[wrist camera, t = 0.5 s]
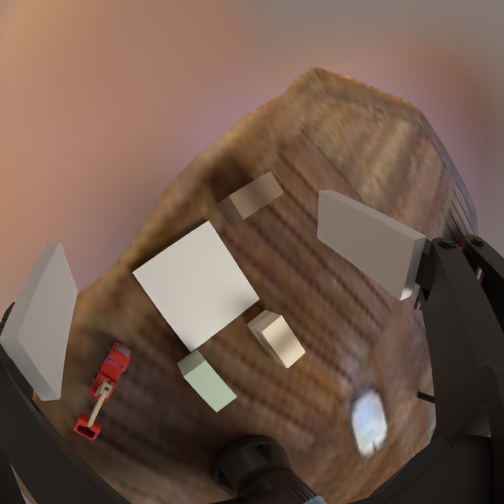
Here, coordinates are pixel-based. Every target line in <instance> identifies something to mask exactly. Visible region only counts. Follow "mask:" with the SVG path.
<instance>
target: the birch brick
mask: <svg viewBox="0 0 504 504" xmlns="http://www.w3.org/2000/svg"><path fill="white" fill-rule="evenodd" d="M247 326H248V327H249V329H250V330H251V332H252V333H253V334H254V336H255V337H256V339H257V340H258V341H259V343H260V344H261V345H262V347H263V348H264V350H265V351H266V352H267V354H268V355H269V356H270V358H271V359H273V360H274V361H276V362H278V363H279V364H281V365H283V366H284V367H286V368H289V367H290V366H291V365H292V364H293V363H294V362H295V361H296V360H297V359H299V358H300V357H301V356H302V355H303V354H304V353H305V351H304V349H303V348H302V346H301V345H300V343H299V342H298V340H297V339H296V337H295V335H294V334H293V332H292V331H291V329H290V328H289V326H288V325H287V323H286V322H285V320H284V319H283V317H282V315H279V314H276V313H273V312H269V311H266V310H264V311H263V312H262V313H260V314H259V315H258V316H257V317H255V318H254V319H253V320H252V321H250V322H249V323H248V324H247Z"/></svg>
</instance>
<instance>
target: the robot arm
mask: <svg viewBox="0 0 504 504" xmlns="http://www.w3.org/2000/svg"><path fill="white" fill-rule="evenodd" d="M317 238H318V239H319V240H321V241H322V242H323V243H325V244H326V245H328V246H329V247H330V248H332V249H333V250H334V251H336V252H337V253H338V254H340V255H341V256H343V257H344V258H345V259H347V260H348V261H349V262H351V263H352V264H353V265H355V266H356V267H357V268H359V269H360V270H361V271H363V272H364V273H365V274H367V275H368V276H369V277H370V278H372V279H373V280H374V281H376V282H377V283H378V284H380V285H381V286H382V287H383V288H385V289H386V290H387V291H389V292H390V293H391V294H392V295H394V296H395V297H396V298H397V299H399V300H402V299H405V298H407V297H409V296H411V295H412V292H413V288H414V285H415V283H417V284H418V285H419V286H420V289H419V292H418V296H417V299H416V302H415V305H414V309H416V308H417V306H418V305H419V304H421V306H420V309H419V310H422V314H423V319H424V324H425V329H426V335H427V340H428V347H429V353H430V360H431V367H432V376H433V385H434V395H435V408H436V427H435V430H434V433H433V435H432V438H431V442H430V444H429V445H427V446H426V447H425V448H424V449H423V450H421V451H420V452H419V453H417V454H416V455H415V456H414V457H412V458H411V459H410V460H409V461H408V462H407V463H406V464H405V465H404V466H403V467H402V468H400V469H399V470H398V471H397V472H396V473H395V474H394V475H393V476H392V477H390V478H389V479H388V480H387V481H386V482H384V483H383V484H382V485H381V486H380V487H378V488H377V489H376V490H375V491H374V492H373V493H372V494H371V495H370V496H369V497H368V498H365V499H362V500H359V501H356V502H353V503H350V504H504V258H503V257H502V256H501V255H500V254H499V253H498V252H497V251H495V250H494V249H493V248H492V247H491V246H490V245H489V244H487V242H485V241H484V240H482V239H481V238H480V237H477V236H467V237H466V238H465V241H464V245H463V247H459V246H458V245H457V244H456V243H455V242H453V241H451V240H449V239H447V238H434V239H433V240H432V242H431V241H429V240H428V239H426V236H424V235H423V234H421V233H419V232H417V231H415V230H413V229H411V228H409V227H408V226H406V225H404V224H402V223H400V222H398V221H396V220H394V219H392V218H390V217H388V216H386V215H384V214H382V213H380V212H378V211H376V210H374V209H372V208H370V207H368V206H365V205H363V204H361V203H359V202H357V201H355V200H353V199H351V198H348V197H346V196H344V195H342V194H340V193H337V192H335V191H333V190H324V191H319V211H318V232H317ZM482 271H483V272H484V274H485V277H484V279H483V282H482V285H480V283H479V281H478V280H479V277H480V275H481V272H482ZM77 293H78V290H77V287H76V285H75V282H74V280H73V277H72V274H71V271H70V268H69V266H68V263H67V260H66V257H65V254H64V251H63V248H62V244H61V241H57V242H54V243H49V244H47V245H46V246H45V248H44V250H43V251H42V253H41V255H40V257H39V258H38V260H37V262H36V263H35V265H34V267H33V269H32V271H31V272H30V274H29V277H28V278H27V280H26V282H25V284H24V286H23V287H22V289H21V291H20V294H19V296H18V298H17V300H16V302H13V303H12V304H11V305H10V307H9V308H8V309H7V310H6V312H5V314H4V316H3V318H2V321H1V323H0V504H26V503H25V500H24V498H23V496H22V494H21V491H20V489H19V486H18V484H17V481H16V479H15V476H14V473H13V471H12V468H11V465H12V467H13V468H14V470H15V471H16V473H17V475H18V476H19V478H20V479H21V481H22V482H23V484H24V485H25V487H26V488H27V489H28V491H29V492H30V494H31V495H32V496H33V498H34V499H35V501H36V502H37V503H38V504H131V503H130V502H129V501H128V500H126V499H125V498H124V497H123V496H121V495H120V494H119V493H118V492H117V491H116V490H114V489H113V488H112V487H111V486H110V485H109V484H108V483H106V482H105V481H104V480H103V479H102V478H101V477H100V476H99V475H98V474H97V473H96V472H95V471H94V470H93V469H92V468H91V467H90V466H89V465H88V464H87V463H86V462H85V461H84V460H83V459H82V458H81V457H80V456H79V455H78V454H77V453H76V452H75V451H74V450H73V449H72V448H71V447H70V445H69V444H68V443H67V442H66V441H65V440H64V439H63V437H62V436H61V435H60V434H59V433H58V432H57V430H56V429H55V428H54V427H53V425H52V424H51V423H50V422H49V420H48V419H47V418H46V417H45V415H44V414H43V413H42V411H41V410H40V409H39V407H38V406H37V405H36V404H35V402H34V401H33V400H32V397H33V390H34V391H35V393H36V394H37V395H38V396H39V398H40V399H41V400H42V401H49V400H59V399H60V396H61V385H62V376H63V368H64V361H65V354H66V348H67V342H68V336H69V330H70V325H71V320H72V315H73V311H74V306H75V302H76V297H77ZM490 433H491V437H487V436H488V435H489V434H490ZM10 463H11V465H10ZM212 472H213V476H214V479H215V481H216V482H217V484H218V486H219V487H220V488H221V489H222V490H223V491H225V492H226V493H227V494H229V495H230V496H231V497H233V498H234V499H229V500H225V501H221V502H216V503H211V504H327V503H326V502H325V501H324V499H323V498H322V497H321V496H319V495H317V494H316V493H315V492H314V491H313V490H312V489H311V488H310V487H309V486H308V485H307V484H306V483H305V482H304V481H303V480H302V479H300V478H299V477H298V476H297V475H296V474H295V473H294V472H293V471H292V469H291V466H290V463H289V460H288V457H287V454H286V452H285V450H284V449H283V448H282V447H281V446H280V445H279V444H278V443H277V442H276V441H275V440H273V439H271V438H268V437H260V436H257V437H249V438H245V439H242V440H239V441H237V442H235V443H233V444H231V445H230V446H228V447H227V448H225V449H224V450H223V451H222V452H221V453H220V454H219V455H218V457H217V458H216V460H215V462H214V464H213V470H212Z"/></svg>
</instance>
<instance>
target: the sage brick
mask: <svg viewBox="0 0 504 504" xmlns="http://www.w3.org/2000/svg"><path fill="white" fill-rule="evenodd" d="M177 365H178V367H179V369H180V371H181V373H182V375H183V377H184V378H185V379H186V380H187V381H188V382H189V384H190V385H191V386H192V387H193V388H194V389H195V390H196V391H197V392H198V393H199V395H200V396H201V397H202V398H203V399H204V400H205V401H206V402H207V403H208V404H209V405H210V406H211V407H212V408H213V409H214V410H215V411H216V412H218V411H219V410H220V409H222V408H223V407H224V406H226V405H227V404H228V403H230V402H231V401H232V400H233V399H235V398H236V397H237V396H236V395H235V394H234V393H233V392H232V391H231V390H230V388H229V387H228V386H227V385H226V384H225V383H224V381H223V380H222V379H221V378H220V377H219V376H218V374H217V373H216V372H215V371H214V370H213V368H212V367H211V366H210V365H209V364H208V362H207V361H206V360H205V359H204V358H203V356H202V355H201V354H200V353H199V351H198V350H197V349H196V350H194V351H193V352H192V353H190V354H189V355H188V356H186V357H185V358H184V359H182V360H181V361H180V362H178V363H177Z"/></svg>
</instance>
